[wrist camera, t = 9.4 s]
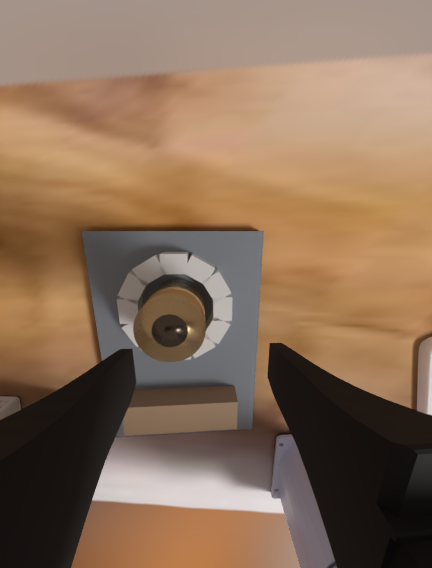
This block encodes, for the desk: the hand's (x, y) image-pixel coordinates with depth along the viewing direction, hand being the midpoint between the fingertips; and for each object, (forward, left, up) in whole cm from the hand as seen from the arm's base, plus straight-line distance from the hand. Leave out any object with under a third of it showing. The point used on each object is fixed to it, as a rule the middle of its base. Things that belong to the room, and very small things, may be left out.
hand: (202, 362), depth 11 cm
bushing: (+1, +2, -7) cm, 8 cm away
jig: (-3, +2, -8) cm, 9 cm away
